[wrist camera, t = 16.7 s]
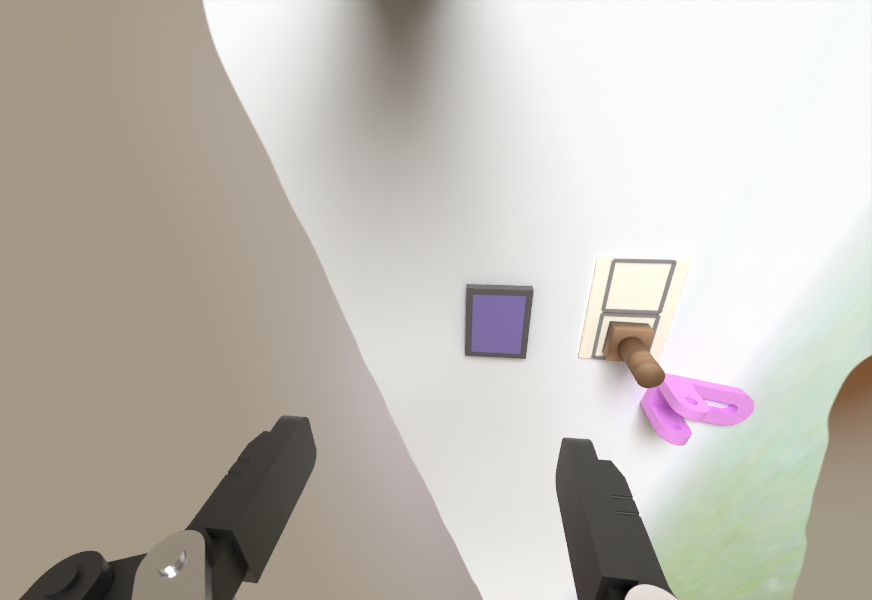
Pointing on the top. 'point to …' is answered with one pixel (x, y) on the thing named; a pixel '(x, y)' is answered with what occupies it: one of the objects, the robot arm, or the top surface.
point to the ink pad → (498, 320)
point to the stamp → (634, 351)
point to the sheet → (632, 299)
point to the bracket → (692, 406)
